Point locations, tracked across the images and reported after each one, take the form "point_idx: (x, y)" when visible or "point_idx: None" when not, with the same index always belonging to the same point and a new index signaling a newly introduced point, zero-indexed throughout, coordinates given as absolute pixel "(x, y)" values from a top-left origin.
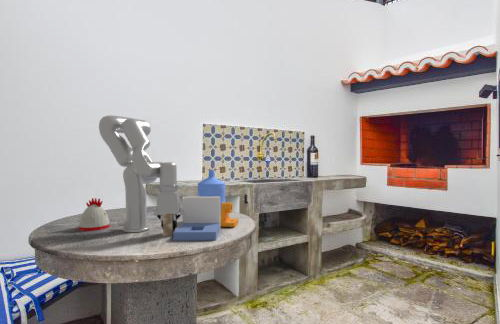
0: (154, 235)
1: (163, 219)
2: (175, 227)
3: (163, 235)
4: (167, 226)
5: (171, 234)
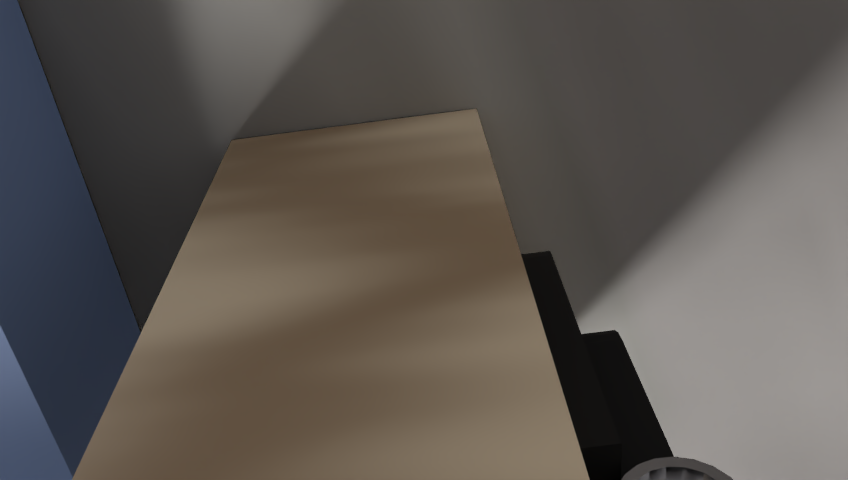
0: (732, 121)
1: (538, 429)
2: None
3: (468, 110)
4: (340, 255)
5: (240, 148)
